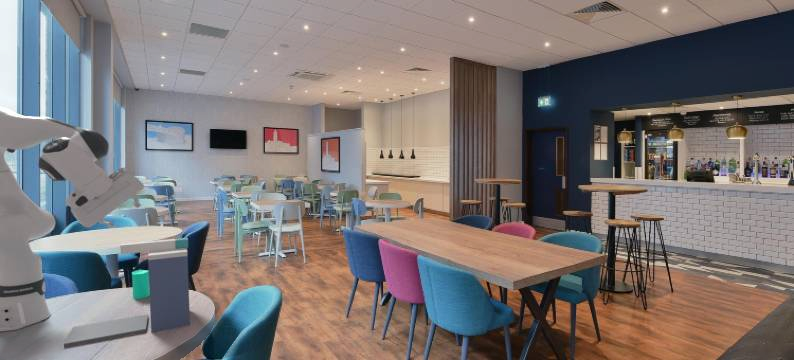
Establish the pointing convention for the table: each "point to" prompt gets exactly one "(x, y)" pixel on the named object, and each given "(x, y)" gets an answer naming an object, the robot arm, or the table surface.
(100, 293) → the table surface
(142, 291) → the candle
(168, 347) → the table surface
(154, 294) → the tall slate-blue pillar
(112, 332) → the board
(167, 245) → the white and teal box
